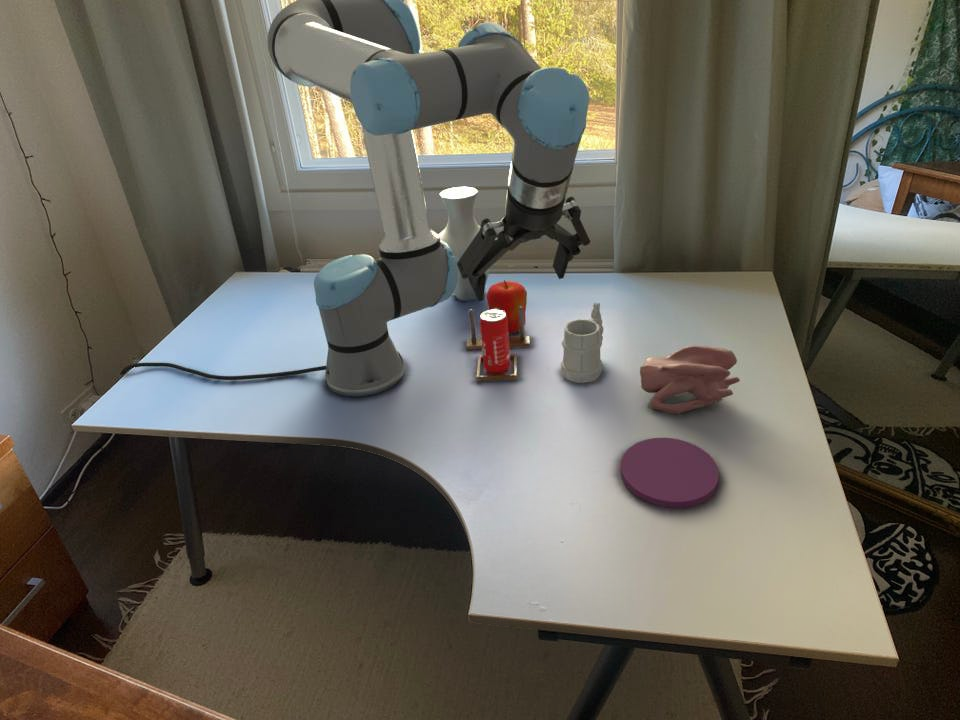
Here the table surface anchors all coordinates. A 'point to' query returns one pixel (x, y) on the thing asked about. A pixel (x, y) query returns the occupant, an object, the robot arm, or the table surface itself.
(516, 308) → the apple
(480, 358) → the rack
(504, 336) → the beverage can
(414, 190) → the robot arm
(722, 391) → the figurine
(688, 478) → the lid
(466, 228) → the vase
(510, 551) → the table surface
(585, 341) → the mug
